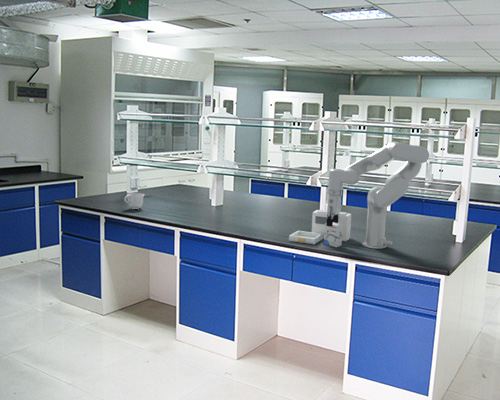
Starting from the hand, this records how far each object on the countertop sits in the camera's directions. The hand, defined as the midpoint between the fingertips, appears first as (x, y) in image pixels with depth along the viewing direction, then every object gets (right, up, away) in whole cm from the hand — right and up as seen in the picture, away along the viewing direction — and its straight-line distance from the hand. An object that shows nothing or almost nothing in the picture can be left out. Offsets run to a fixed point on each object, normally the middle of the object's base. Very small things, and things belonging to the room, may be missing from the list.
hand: (332, 224), depth 275 cm
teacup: (-123, +6, +84) cm, 149 cm away
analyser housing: (+2, -8, +18) cm, 20 cm away
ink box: (0, -11, +2) cm, 11 cm away
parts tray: (-13, -9, +11) cm, 19 cm away
